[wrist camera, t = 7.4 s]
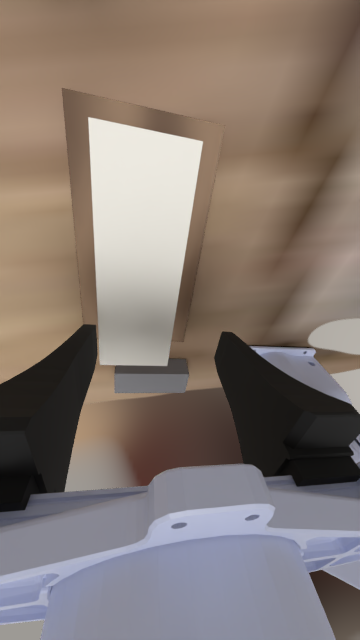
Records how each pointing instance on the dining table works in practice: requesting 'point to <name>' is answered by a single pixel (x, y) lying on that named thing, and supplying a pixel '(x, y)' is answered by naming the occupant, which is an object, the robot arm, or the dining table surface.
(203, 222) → the peg stand
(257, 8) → the dining table surface
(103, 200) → the shelf board
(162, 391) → the block
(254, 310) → the dining table surface
